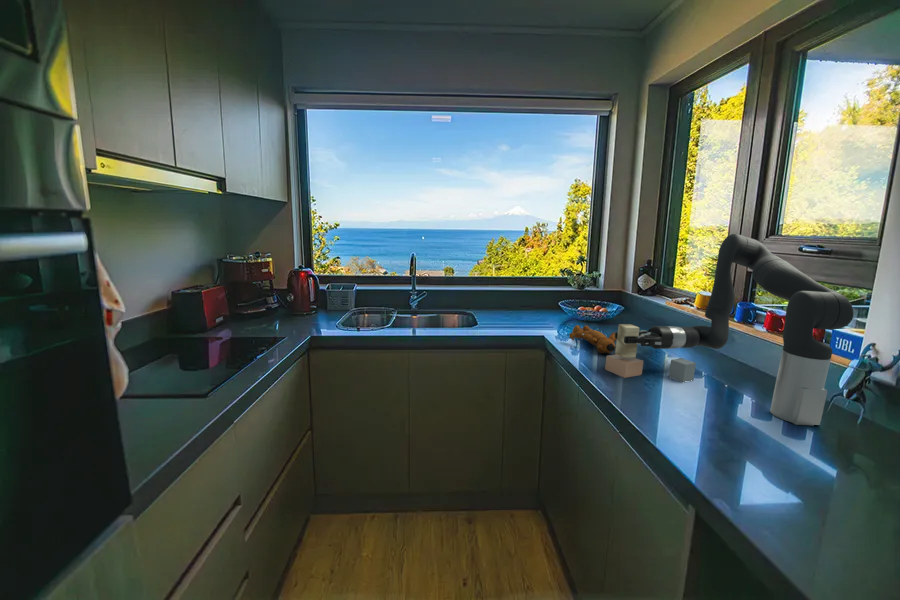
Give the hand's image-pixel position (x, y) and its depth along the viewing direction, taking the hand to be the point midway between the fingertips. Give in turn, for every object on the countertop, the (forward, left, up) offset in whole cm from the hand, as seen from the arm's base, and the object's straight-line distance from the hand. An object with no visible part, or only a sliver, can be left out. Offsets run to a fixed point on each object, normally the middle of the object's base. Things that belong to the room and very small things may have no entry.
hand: (620, 337), depth 129 cm
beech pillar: (0, -3, -6) cm, 7 cm away
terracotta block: (0, -3, -12) cm, 12 cm away
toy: (+31, -4, -12) cm, 33 cm away
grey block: (-4, -20, -12) cm, 23 cm away
